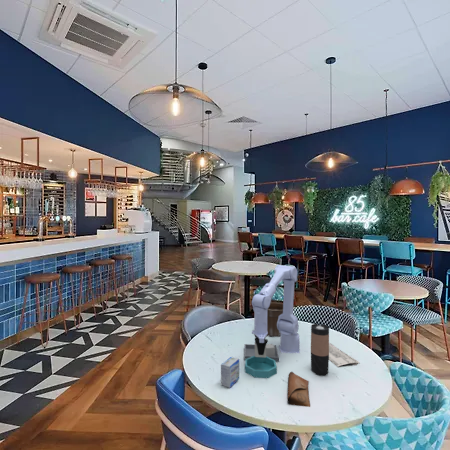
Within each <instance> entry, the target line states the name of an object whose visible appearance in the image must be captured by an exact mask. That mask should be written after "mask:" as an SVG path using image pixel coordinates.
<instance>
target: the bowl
mask: <svg viewBox="0 0 450 450" xmlns="http://www.w3.org/2000/svg"><path fill="white" fill-rule="evenodd" d="M244 362H245V364H244V369H245V371H244V372H245V373H246V374H248V375H249V376H251V377H253V378H256V379H257V378H258V379H270V378H271V377H274V376H275V375H277V373H278V372H277V371H278V367H277V362H276V361H275V360H273V359H271V358H269V357H267V356H266V357H255V356H252V357H250V358H247V359H245V358H244Z"/></svg>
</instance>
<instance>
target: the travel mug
mask: <svg viewBox="0 0 450 450" xmlns="http://www.w3.org/2000/svg"><path fill="white" fill-rule="evenodd" d="M310 328H311V329H310V370H311V372H312V373H313V374H314V375H316V376H320V377H325V376H328V374H329V366H330V365H329V362H330V360H329V343H330V327H329V326H328V325H326V324H318V323H313V324H311V327H310Z"/></svg>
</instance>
